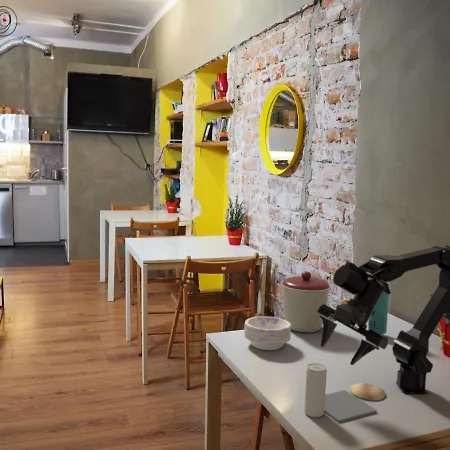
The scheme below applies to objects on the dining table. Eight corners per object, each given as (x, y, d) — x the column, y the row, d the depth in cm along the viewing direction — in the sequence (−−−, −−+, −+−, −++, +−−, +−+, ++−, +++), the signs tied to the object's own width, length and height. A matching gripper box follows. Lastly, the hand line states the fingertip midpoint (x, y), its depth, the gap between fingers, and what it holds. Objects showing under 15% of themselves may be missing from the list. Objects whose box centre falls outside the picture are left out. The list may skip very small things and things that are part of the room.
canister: (339, 331, 189) (343, 274, 186) (301, 340, 179) (304, 279, 176) (305, 317, 204) (308, 264, 201) (268, 324, 194) (271, 268, 191)
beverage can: (310, 406, 133) (313, 361, 131) (327, 413, 130) (330, 366, 128) (300, 413, 129) (302, 367, 127) (317, 420, 126) (320, 372, 124)
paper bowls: (279, 336, 183) (280, 313, 182) (297, 352, 169) (298, 328, 167) (238, 339, 179) (238, 316, 178) (252, 356, 164) (253, 331, 163)
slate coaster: (344, 392, 141) (344, 390, 141) (376, 412, 131) (376, 410, 131) (308, 400, 136) (308, 398, 136) (338, 422, 125) (338, 420, 125)
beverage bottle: (388, 334, 187) (392, 280, 184) (383, 340, 182) (387, 283, 179) (370, 331, 191) (374, 277, 188) (364, 336, 185) (368, 280, 182)
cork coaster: (379, 385, 146) (379, 383, 146) (389, 400, 137) (389, 398, 137) (346, 384, 146) (346, 382, 146) (355, 400, 137) (355, 398, 137)
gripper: (322, 278, 135) (293, 332, 135) (386, 310, 123) (354, 370, 122) (339, 289, 144) (312, 340, 143) (401, 320, 131) (371, 376, 131)
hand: (336, 355), depth 135 cm, fingers open, 9 cm apart
